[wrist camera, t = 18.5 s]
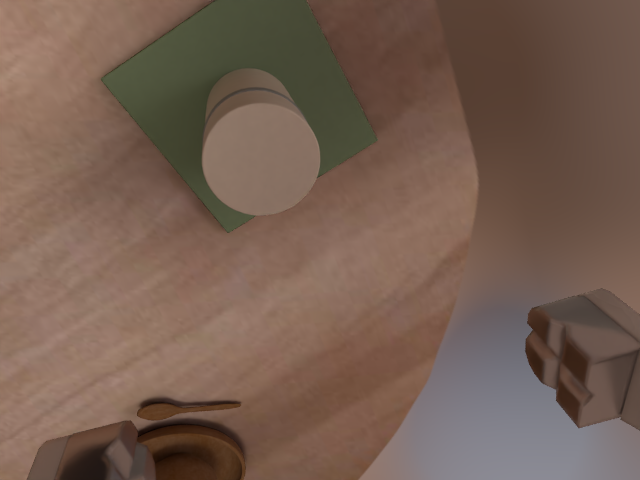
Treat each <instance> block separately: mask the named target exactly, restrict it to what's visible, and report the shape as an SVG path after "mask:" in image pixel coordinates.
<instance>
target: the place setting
mask: <svg viewBox="0 0 640 480" xmlns="http://www.w3.org/2000/svg"><path fill="white" fill-rule="evenodd" d="M240 406H241V404H235V403H232V404H218V405H209V406H200V407H188V408H182V407H177V406H175V405H173V404H169V403H156V404H151V405H148V406H145V407H143V408H141V409H140V410H139V411H138V412H137V416H138V417H140V418H143V419H147V420H162V419H166V418H169V417H171V416H173V415H176V414H179V413H186V412H197V411H211V410H224V409H232V408H237V407H240ZM137 442H139V443H142V444H144V445H147V446H148V448H149V450H150V452H151V453H152V456H153V459H154V463H155V469H156V480H244V476H245V470H246V467H245V460H244V456H243V454H242V451H241V449H240V448H239V446H238V445H237V444H236V443H235V442H234V441H233V440H232V439H231V438H230V437H228V436H227V435H225V434H223V433H222V432H219V431H217V430H215V429H211V428H208V427H203V426H197V425H175V426H169V427H164V428H160V429H156V430H153V431H151V432H148V433H146V434H144V435H142V436H140V437H138V438H137Z"/></svg>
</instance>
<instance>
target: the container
mask: <svg viewBox="0 0 640 480" xmlns="http://www.w3.org/2000/svg"><path fill="white" fill-rule="evenodd" d="M202 147H203V148H202V168H203V173H204V176H205V179H206V181H207V184H208V186H209V187H210V189H211V190H212V192H213V193H214V194H215V195H216V197H217V198H218V199H219V200H221V201H222V202H223V203H224V204H226V205H227V206H228V207H230V208H232V209H234V210H236V211H239V212H241V213H245V214H249V215H256V216H265V215H272V214H277V213H280V212H283V211H285V210H287V209H289V208H291V207H293V206H294V205H296V204H297V203H299V202H300V201H301V200H302V199H303V198H304V197H305V196H306V195H307V194H308V192H309V191H310V190H311V188H312V187H313V185H314V183H315V181H316V178H317V176H318V172H319V168H320V150H319V145H318V142H317V139H316V137H315V135H314V133H313V131H312V129H311V128H310V126H309V125H308V122H307V120H306V118H305V116H304V115H303V113H302V112H301V110H300V109H299V108H298V106H297V105H296V104H295V103H294V101H293V99H292V98H291V96H290V95H289V93H288V92H287V90H286V88H285V87H284V86H283V84H282V83H281V82H280V81H279V80H278V79H277V78H275V77H274V76H273V75H271V74H269V73H267V72H265V71H262V70H259V69H254V68H243V69H237V70H234V71H232V72H230V73H228V74H226V75H224V76H223V77H222V78H221V79H219V80H218V81H217V83H216V84H215V85H214V86H213V88H212V90H211V92H210V94H209V97H208V100H207V106H206V116H205V125H204V129H203V136H202Z"/></svg>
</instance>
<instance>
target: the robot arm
mask: <svg viewBox="0 0 640 480" xmlns="http://www.w3.org/2000/svg"><path fill="white" fill-rule="evenodd" d="M527 323H528V324H529V326H530V327H531V328H532V329H533V330H532V332H531V333H530V334H529V336H528V337H527V338H526V348H525V349H526V350H525V352H526V355H527V358H528V362H529V365H530V366H531V368H532V370H533V372H534V374H535V375H536V376H537V377H538V379H539V380H540V381H541V382H542V383H543V384H545V385H547V386H549V387H551V388H553V389H556V401H557V402H558V403H559V405H560V406H561V407H562V408H563V410H564V411H565V412H566V413H567V414H568V416H569V417H570V418H571V419H572V420H573V422H574V423H575V424H576V425H577V427H578V428H582V427H585V426H589V425H593V424H596V423H600V422H604V421H608V420H611V419H615V418H619V417H621V420H622V421H624V422H626V423H628V424H629V425H631V426H633V427H635V428H636V429H638V430H640V314H638V313H637V312H636V311H634V310H633V309H632V308H631V307H629V306H628V305H627V304H626V303H624V302H623V301H622V300H620V299H619V298H618V297H616V296H615V295H614V294H612V293H611V292H610V291H608V290H605V289H602V288H601V289H598V290H594V291H591V292H587V293H584V294H580V295H578V296H572V297H569V298H566V299H562V300H559V301H555V302H552V303H549V304H545V305H541V306H538V307H534V308H532V309H531V310H530V312H529V313H528V321H527ZM137 436H138V430H137V429H136V427H135V426H134V424H133V423H132V421H122V422H118V423H114V424H110V425H106V426H102V427H98V428H94V429H90V430H86V431H82V432H78V433H74V434H72V435H68V436H64V437H60V438H56V439H52V440H48V441H46V442H45V443H44V444H43V445H42V446H41V447H40V448H39V450H38V452H37V455H36V457H35V460H34V462H33V465H32V467H31V470H30V472H29V475H28V478H27V480H156V469H155V463H154V459H153V456H152V453H151V452H150V450H149V448H148V446H147V445H144V444H142V443H139V442H137Z"/></svg>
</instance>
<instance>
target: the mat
mask: <svg viewBox="0 0 640 480" xmlns="http://www.w3.org/2000/svg"><path fill="white" fill-rule="evenodd" d="M243 68H254V69H259V70H262V71H265V72H267V73H269V74H271V75H273V76H274V77H275V78H277V79H278V80H279V81H280V82H281V83H282V84H283V86H284V87H285V88H286V90H287V92H288V93H289V95H290V96H291V98H292V99H293V101H294V103H295V104H296V105H297V106H298V108H299V109H300V110H301V112H302V113H303V115H304V116H305V118H306V120H307V122H308V125H309V126H310V128H311V129H312V131H313V133H314V135H315V137H316V139H317V142H318V145H319V150H320V168H319V172H318V176H317V178H318V177H320V176H321V175H323V174H324V173H326V172H328V171H329V170H331V169H332V168H334V167H336V166H337V165H339V164H341V163H342V162H344V161H345V160H347V159H349V158H350V157H352V156H353V155H355V154H357V153H358V152H360V151H361V150H363V149H365V148H366V147H368V146H370V145H371V144H373V143H374V142H376V141H377V140H378V139H377V137H376V135H375V134H374V132H373V130H372V128H371V126H370V124H369V122H368V120H367V118H366V116H365V114H364V112H363V110H362V108H361V106H360V104H359V102H358V101H357V99H356V97H355V95H354V93H353V91H352V89H351V87H350V85H349V83H348V81H347V79H346V77H345V75H344V73H343V71H342V69H341V67H340V66H339V64H338V62H337V60H336V58H335V56H334V54H333V52H332V50H331V48H330V46H329V44H328V42H327V40H326V38H325V36H324V34H323V33H322V31H321V29H320V27H319V25H318V23H317V21H316V19H315V17H314V15H313V13H312V11H311V9H310V7H309V5H308V3H307V1H306V0H215V1H213V2H212V3H210V4H209V5H207V6H206V7H204V8H203V9H201V10H200V11H199V12H197V13H196V14H194V15H193V16H191V17H190V18H188V19H187V20H185V21H184V22H182V23H181V24H180V25H178V26H177V27H175V28H174V29H172V30H171V31H169V32H168V33H166V34H165V35H164V36H162V37H161V38H159V39H158V40H156V41H155V42H153V43H152V44H150V45H149V46H147V47H146V48H145V49H143V50H142V51H140V52H139V53H137V54H136V55H134V56H133V57H131V58H130V59H129V60H127V61H126V62H124V63H123V64H121V65H120V66H118V67H117V68H115V69H114V70H113V71H111V72H110V73H108V74H107V75H105V76H104V77H102V78H101V81H102V82H103V83H104V84H105V85H106V87H107V88H108V89H109V90H110V91H111V93H112V94H113V95H114V96H115V97H116V99H117V100H118V101H119V102H120V103H121V105H122V106H123V107H124V108H125V109H126V111H127V112H128V113H129V114H130V116H131V117H132V118H133V119H134V120H135V122H136V123H137V124H138V125H139V126H140V128H141V129H142V130H143V131H144V132H145V134H146V135H147V136H148V137H149V138H150V140H151V141H152V142H153V143H154V144H155V146H156V147H157V148H158V149H159V151H160V152H161V153H162V154H163V155H164V157H165V158H166V159H167V160H168V161H169V163H170V164H171V165H172V166H173V167H174V169H175V170H176V171H177V172H178V173H179V175H180V176H181V177H182V178H183V179H184V181H185V182H186V183H187V184H188V186H189V187H190V188H191V189H192V190H193V192H194V193H195V194H196V195H197V196H198V198H199V199H200V200H201V201H202V202H203V204H204V205H205V206H206V207H207V208H208V210H209V211H210V212H211V213H212V215H213V216H214V217H215V218H216V219H217V221H218V222H219V223H220V224H221V225H222V227H223V228H224V229H225V230H226V231H227V233H229V232H231V231H233V230H234V229H236V228H237V227H239V226H241V225H242V224H244V223H245V222H247V221H249V220H250V219H252V218H254V217H255V216H256V215H249V214H245V213H241V212H239V211H236V210H234V209H232V208H230V207H228V206H227V205H226V204H224V203H223V202H222V201H221V200H219V199H218V198H217V197H216V195H215V194H214V193H213V192H212V190H211V189H210V187H209V186H208V184H207V181H206V179H205V176H204V173H203V168H202V148H203V147H202V136H203V129H204V125H205V116H206V106H207V100H208V97H209V94H210V92H211V90H212V88H213V86H214V85H215V84H216V83H217V81H218V80H219V79H221V78H222V77H223V76H224V75H226V74H228V73H230V72H232V71H234V70H237V69H243Z"/></svg>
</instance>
